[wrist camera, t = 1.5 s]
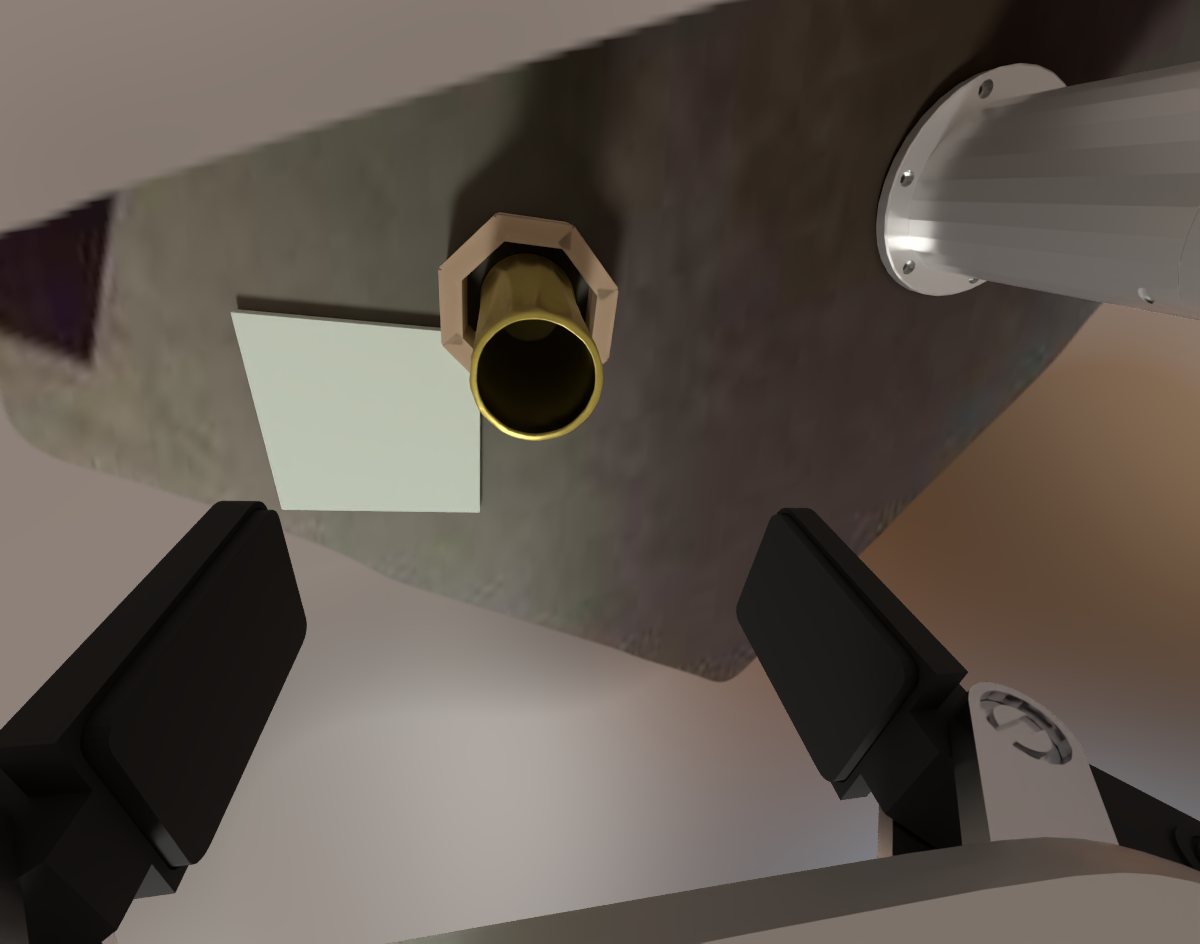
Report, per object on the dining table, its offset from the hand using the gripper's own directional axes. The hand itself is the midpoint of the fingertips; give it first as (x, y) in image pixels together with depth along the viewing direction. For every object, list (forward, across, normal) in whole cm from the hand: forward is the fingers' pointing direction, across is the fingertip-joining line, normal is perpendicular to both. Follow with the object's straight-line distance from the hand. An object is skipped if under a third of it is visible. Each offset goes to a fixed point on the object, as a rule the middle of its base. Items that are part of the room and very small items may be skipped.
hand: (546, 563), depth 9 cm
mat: (+25, +10, +9) cm, 28 cm away
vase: (+25, 0, 0) cm, 25 cm away
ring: (+24, 0, 0) cm, 25 cm away
